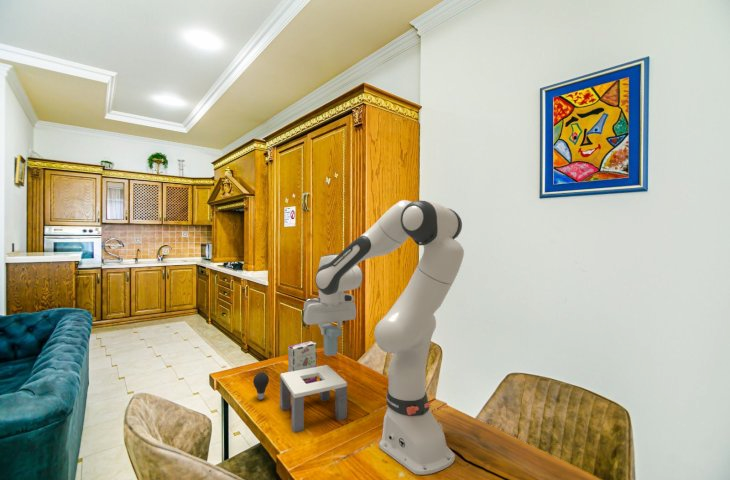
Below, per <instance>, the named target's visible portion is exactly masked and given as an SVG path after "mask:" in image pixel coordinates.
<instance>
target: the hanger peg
mask: <svg viewBox="0 0 730 480" xmlns="http://www.w3.org/2000/svg"><path fill="white" fill-rule="evenodd" d="M322 327H323V329H325V330H326V335H323V354H324V355H325V356H326V357H331V356H337V355H338V337H341V336H342V334H343V333H342V331H343V330H342V329H341V328H340V329H338V328H337V326H335V325H334V324H332V323H331V322H328V323H324V325H323V326H322ZM319 330H320V331H321V329H320V328H319Z"/></svg>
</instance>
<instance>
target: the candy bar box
mask: <svg viewBox="0 0 730 480" xmlns="http://www.w3.org/2000/svg"><path fill="white" fill-rule="evenodd" d="M287 354H288V357H287V358H288V359H287V360H288V372H291V371H297V370H302V369H308V368H313V367H318V365H317V364H318V362H317V357H318V356H317V343H316V342H315V341H312V340H309V341H306V342H300V343H297V344H294V345H289V346H288V347H287ZM302 380H303V381H304V382H305V383H306V384H308V383H313V382H318V381H317V380H318V376H316V377H311V378H306V379H302Z"/></svg>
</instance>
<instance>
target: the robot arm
mask: <svg viewBox="0 0 730 480" xmlns="http://www.w3.org/2000/svg"><path fill="white" fill-rule="evenodd" d="M462 229H463V222H462V218H461V217H460V215H459V214H458V213H457V212H456V211H455V210H453V209H452V208H448V207H445V206H443V205H442V204H440V203H436V202H432V201H431V202H430V201H427V200H414V201H411V200H408V199H402V200H399V201H398V202H396V203H395V204H393V205H392V206H391V207H390V208H389V209H387V211H385V213H383V214H382V215H381V217H380V218H378V220H377V221H375V223H374V224H373V225H372V226H370V227H369V228H368V229H367V230H366V231H364V233H363V234H361V235H360V236H359V237H357V238H356V239H354V240H353V241H352V242H351V243H350V244H348V245H347V247H345V248H344V249H343V250H342V251H341V252H340V253H339V254H338V253H332V254H326V255H323V256H321V257H320V260H319V265H318V269H317V271H316V274H315V279H314V282H315V285H316V288H317V289H318V297H317V298H315V297H314V298H307V300H305V301H304V302H303V322H304V324H306V325H308V326H312V325H317V326H318V328H319V330H320V329H321V330H320V333H321V336H324V335H326V330H325V329H323V327H322V326H323V325H324V324H327V323H337V326H336V327H337V328H338V329H340V330H341V328H342V325H343V321H351V320H352V321H353V320H355V319H356V317H357V309H356V303H355V302H354V300H355V296H354V295H352V294H350V293H347V292H346V291H353V290H356V289H358V288H360V287H361V285H362V283H363V279H364V278H363V277H364V275H363V271H362V269H361V268H360V266H359V265H358V264H359V263H361V262H363V261H365V260H368V259H371V258H374V257H379V256H380V257H382V256H386V255H388V254H389V255H390V254H391V253H392V252H394V251H396V250H397V249H398V248H400V247H401V246H402V245H403V244H404V243H405V242H406V241H407V240H408V239H409V238H411V239H412V240H413V242H414V243H415V245H417V246H423V253H422V256H421V258H420V260H419V261H418V264H417V265H416V268H415V269H414V272H413V274H412V276H411V278H410V279H409V281H408V284H407V286H406V287H405V289H404V290H403V292H402V293H401V294H400V295H399V297H398V298H397V299H396V300H395V302H394V303H393V305H392V306H391V308H390V309H389V310H388V312H387V313H386V314H385V315H384V316H383V317H382V319H380V320H379V322H377V324H376V325H375V328H374V332H373V333H374V336H373V337H374V340H375V343H376V345H377V346H378V347H379V349H380V350H381V351H383V352H384V353H386V354H393V355H392V358H391V359H390V360H389V361H390V362H389V364H388V386H387V387H388V389H387V391H386V405H387V408H386V411H385V414H384V417H383V425H382V435H381V440H380V441H379V443H378V447H379V449H381V451H383V452H384V453H386V454H387V455H389V456H390V457H391V458H392V459H394V460H396V461H397V463H399V464H401V466H403V467H405V468H406V469H407V470H409V472H412V473H413V474H415V475H419V476H420V475H431V474H435V473H437V472H440V471H442V470H445V469H446V468H448V467H450V466H452V464H453V463H454V461H455V460H456V454H455V453H454V452H453V451H452V450H451V448H450V447H449V446H448V445H447V440H446V436H445V433H444V431H443V430H444V429H443V425H442V423H440V422H438V421H437V420H436V418H435V417H434V414H433V413H432V411H431V409H430V407H432V405H431V404H432V402H431V401H430V402H429V397H428V393H427V392H426V370H427V369H426V368H427V360H428V357H429V356H428V355H429V351H430V346H431V342H432V338H433V335H434V333H435V331H436V328H437V320H436V316H435V313H436V311H437V310H438V309H440V307H441V305H443V302H444V300H445V299H446V296H447V295H448V293H449V291H450V290H451V287H452V285H453V284H454V282H455V279H456V277H457V276H458V273H459V271H460V268H461V266H462V262H463V259H464V256H465V252H464V251H465V250H464V247H463V246H462V245H461V244H460V242H459V241H457V240H456V238H458V237H459V235H460V234H461V231H462Z"/></svg>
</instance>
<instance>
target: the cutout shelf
mask: <svg viewBox="0 0 730 480" xmlns="http://www.w3.org/2000/svg"><path fill="white" fill-rule="evenodd" d="M316 376H317V377H319V380H318V381H316V382H313V383H308V384H306V383H305V382H304V381H303V380H302V379H306V378H311V377H316ZM279 377H280V383H279V385H280V388H279V390H280V391H279V393H280V394H279V396H280V397H279V399H280V400H279V407H280V410H281V411H288V410H291V430H292V431H293V433H294V434H295V433H299V432H303V431H304V430H305V427H304V426H305V425H304V423H305V421H304V420H305V418H304V417H305V415H304V414H305V406H304V405H305V404H304V403H305V396H310V395H315V394H319V399H320V400H321V401H322V402H325V401H329V400H330V399H331V390H335V391H334V399H335V400H334V417H335V418H336V420H337V421H342V420H345V419H347V418H348V417H347V416H348V382H347V381H346V380H345V379H343V377H341V376H340V375H339V374H338V373H337V372H336V371H335V370H333V368H331V367H330V366H329V365H328V364H325V365H320V366H318V365H317V367H313V368H308V369H302V370H297V371H291V372H289V371H286V372H282V373H280V375H279Z"/></svg>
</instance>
